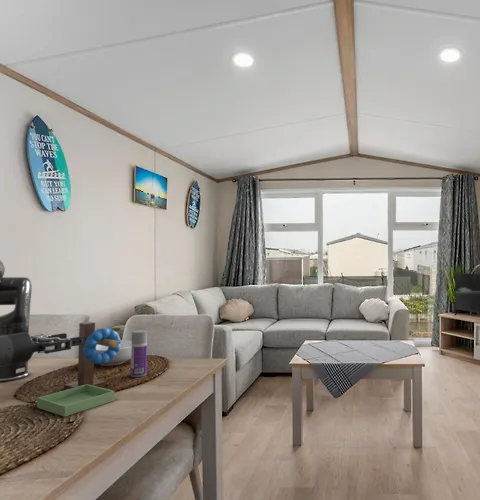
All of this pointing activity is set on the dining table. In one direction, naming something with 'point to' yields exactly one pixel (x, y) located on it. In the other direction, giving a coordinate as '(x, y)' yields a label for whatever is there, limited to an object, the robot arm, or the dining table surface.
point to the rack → (83, 364)
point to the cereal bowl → (121, 356)
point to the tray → (75, 399)
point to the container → (139, 353)
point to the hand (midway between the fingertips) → (74, 338)
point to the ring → (92, 342)
